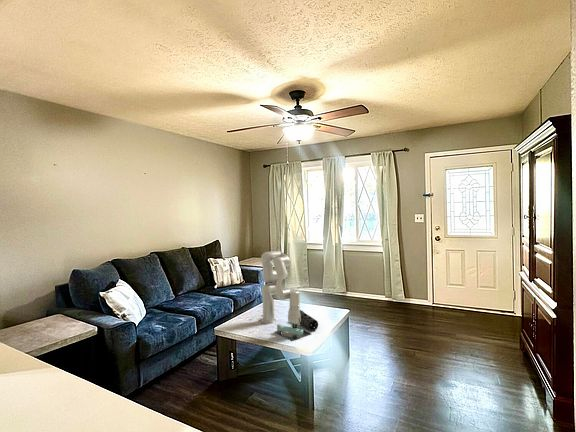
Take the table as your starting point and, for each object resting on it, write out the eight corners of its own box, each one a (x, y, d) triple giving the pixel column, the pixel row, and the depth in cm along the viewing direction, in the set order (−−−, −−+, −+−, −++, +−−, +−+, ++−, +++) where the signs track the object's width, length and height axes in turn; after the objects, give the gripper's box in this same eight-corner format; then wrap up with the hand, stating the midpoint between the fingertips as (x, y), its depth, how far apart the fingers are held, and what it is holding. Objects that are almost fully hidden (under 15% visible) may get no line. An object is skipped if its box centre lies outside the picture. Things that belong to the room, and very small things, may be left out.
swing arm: (276, 332, 237) (276, 325, 237) (278, 330, 240) (278, 324, 240) (301, 337, 227) (301, 330, 227) (304, 335, 230) (303, 329, 230)
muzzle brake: (307, 333, 238) (307, 320, 238) (292, 321, 264) (291, 309, 264) (318, 331, 242) (318, 318, 242) (302, 320, 268) (302, 308, 268)
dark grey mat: (273, 333, 239) (273, 331, 239) (293, 326, 252) (293, 325, 252) (291, 342, 222) (291, 340, 222) (312, 335, 235) (312, 333, 235)
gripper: (284, 306, 239) (284, 329, 239) (297, 311, 227) (297, 336, 228) (292, 304, 244) (292, 327, 244) (304, 308, 232) (305, 333, 233)
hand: (294, 331), depth 236 cm, fingers closed
